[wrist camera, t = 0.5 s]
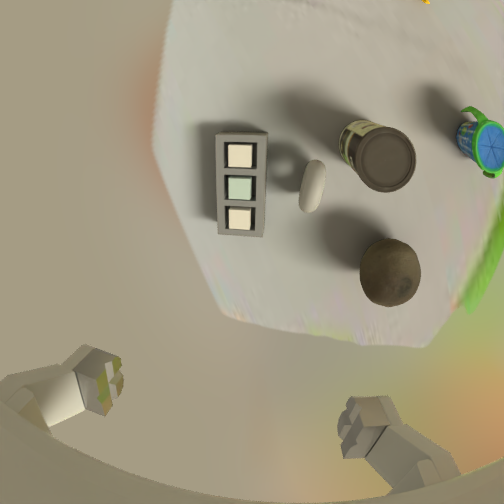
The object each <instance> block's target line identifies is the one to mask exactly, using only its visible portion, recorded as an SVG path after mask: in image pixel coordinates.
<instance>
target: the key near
mask: <svg viewBox="0 0 504 504" xmlns="http://www.w3.org/2000/svg"><path fill="white" fill-rule="evenodd" d="M251 166H252V144H235V143H230V144H229V145H228V167H251Z"/></svg>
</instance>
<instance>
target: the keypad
mask: <svg viewBox="0 0 504 504" xmlns="http://www.w3.org/2000/svg"><path fill="white" fill-rule="evenodd" d="M230 143H235V144H252V166H251V167H228V145H229V144H230ZM267 147H268V133H263V132H220V133H218V134H216V135H215V148H216V195H217V225H218V234H222V235H236V236H251V237H263V231H264V223H265V199H266V174H267ZM231 175H233V176H252V190H251V199H250V200H243V199H229V177H230V176H231ZM230 206H242V207H251V226H250V230H244V229H229V208H230Z"/></svg>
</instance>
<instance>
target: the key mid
mask: <svg viewBox="0 0 504 504" xmlns="http://www.w3.org/2000/svg"><path fill="white" fill-rule="evenodd" d="M251 190H252V176H233V175H231V176H230V177H229V199H243V200H250V199H251Z"/></svg>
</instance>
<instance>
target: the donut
mask: <svg viewBox="0 0 504 504" xmlns="http://www.w3.org/2000/svg"><path fill="white" fill-rule="evenodd" d="M325 178H326V169H325V165H324V164H323V163H322V162H321V161H319V160H311V161H310V162H309V163H308V164H307V166H306V169H305V172H304V175H303V179H302V183H301V188H300V194H299V206H300V208H301V210H302V211H303V212H306V213H310V212H313V211H314V210H316V208H317V207H318V205H319V203H320V200H321V197H322V194H323V190H324V185H325Z"/></svg>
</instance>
